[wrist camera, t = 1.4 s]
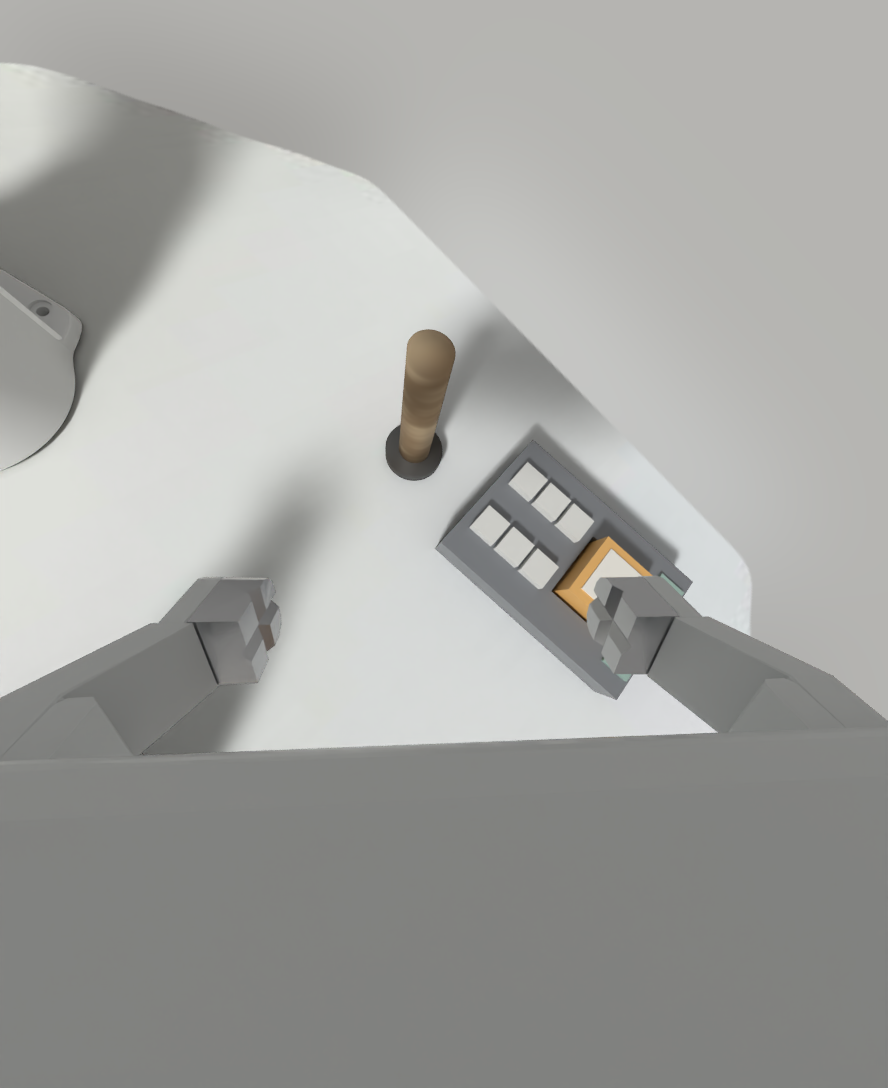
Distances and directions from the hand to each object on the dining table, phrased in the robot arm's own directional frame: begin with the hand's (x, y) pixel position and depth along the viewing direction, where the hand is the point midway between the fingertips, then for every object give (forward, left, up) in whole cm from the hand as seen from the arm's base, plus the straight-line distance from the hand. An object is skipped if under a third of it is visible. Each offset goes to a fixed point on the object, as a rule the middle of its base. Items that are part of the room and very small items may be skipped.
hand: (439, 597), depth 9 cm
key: (+11, +12, -19) cm, 24 cm away
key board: (+8, +12, -21) cm, 25 cm away
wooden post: (-8, +11, -21) cm, 25 cm away
